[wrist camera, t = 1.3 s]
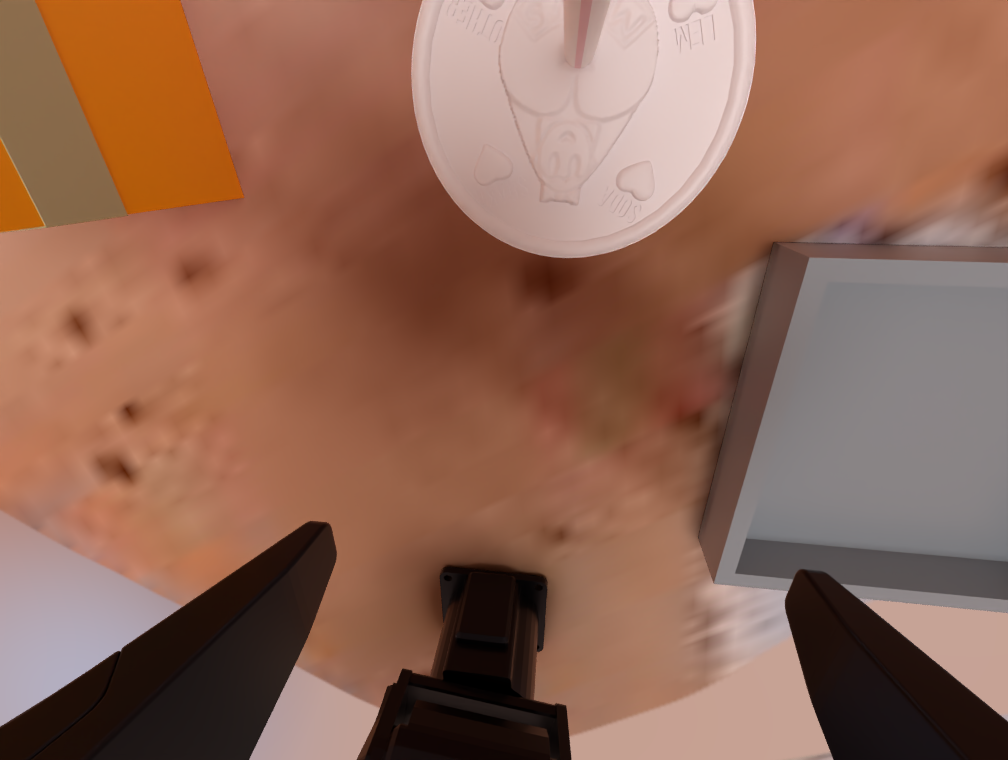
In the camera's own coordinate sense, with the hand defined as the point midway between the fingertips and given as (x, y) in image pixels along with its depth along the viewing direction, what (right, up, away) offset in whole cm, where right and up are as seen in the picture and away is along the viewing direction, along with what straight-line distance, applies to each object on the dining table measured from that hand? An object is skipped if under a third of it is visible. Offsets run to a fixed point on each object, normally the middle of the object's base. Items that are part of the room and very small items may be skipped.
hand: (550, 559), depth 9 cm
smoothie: (+2, +13, +8) cm, 16 cm away
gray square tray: (+17, +2, +12) cm, 21 cm away
